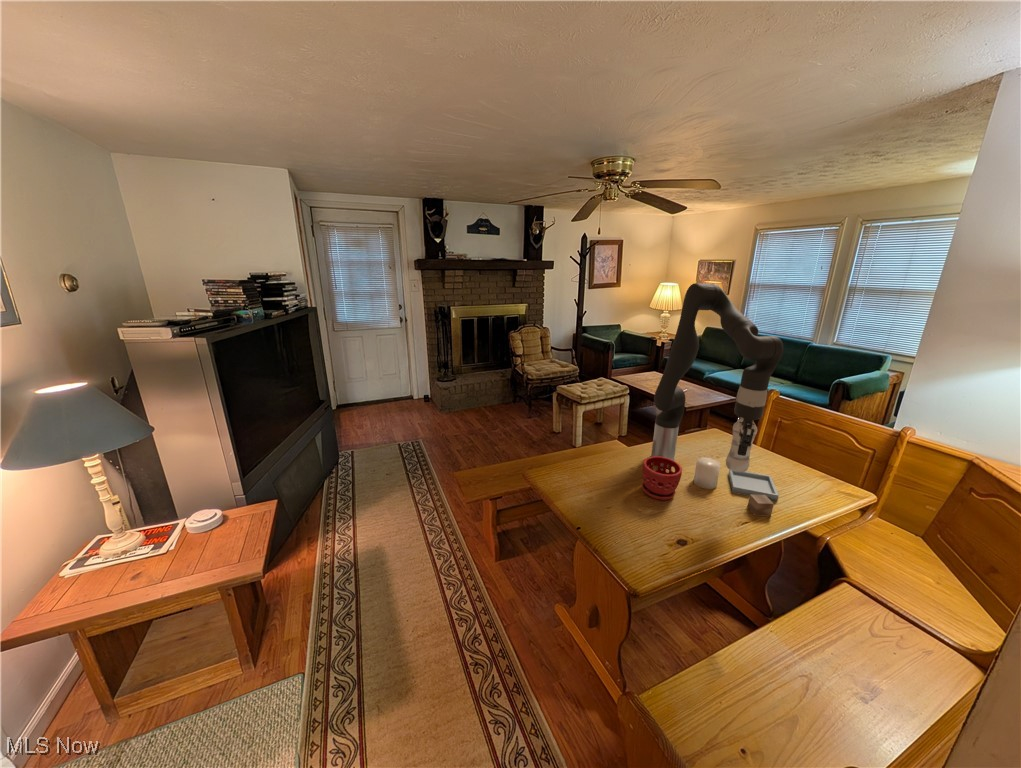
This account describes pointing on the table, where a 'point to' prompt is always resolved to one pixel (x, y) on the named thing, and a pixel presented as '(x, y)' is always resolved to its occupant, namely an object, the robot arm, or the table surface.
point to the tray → (753, 484)
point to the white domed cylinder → (706, 473)
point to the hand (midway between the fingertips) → (740, 450)
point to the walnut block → (760, 505)
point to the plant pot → (660, 477)
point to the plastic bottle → (733, 459)
